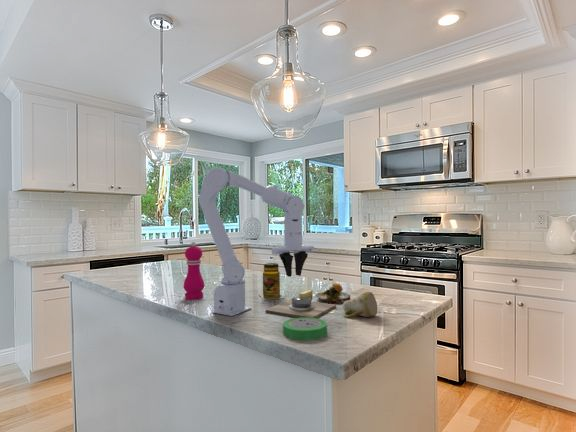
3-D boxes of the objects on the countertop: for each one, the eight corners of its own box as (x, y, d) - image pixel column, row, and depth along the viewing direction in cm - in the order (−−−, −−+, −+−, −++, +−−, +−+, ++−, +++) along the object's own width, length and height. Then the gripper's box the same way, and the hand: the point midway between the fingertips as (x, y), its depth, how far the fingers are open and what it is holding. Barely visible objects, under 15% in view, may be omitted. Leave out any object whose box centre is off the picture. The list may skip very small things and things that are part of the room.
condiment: (264, 300, 127) (263, 265, 127) (258, 295, 135) (258, 262, 135) (284, 298, 129) (284, 264, 129) (277, 293, 137) (277, 261, 137)
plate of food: (325, 295, 135) (324, 274, 135) (355, 298, 129) (355, 277, 129) (309, 302, 125) (309, 280, 125) (342, 306, 119) (342, 283, 119)
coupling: (305, 308, 110) (305, 296, 110) (288, 306, 113) (288, 294, 113) (318, 302, 117) (318, 291, 117) (302, 299, 121) (302, 289, 121)
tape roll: (274, 335, 91) (274, 325, 91) (297, 324, 101) (297, 314, 100) (313, 344, 85) (312, 333, 85) (334, 331, 94) (334, 321, 94)
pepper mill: (199, 300, 127) (198, 242, 126) (179, 300, 128) (179, 242, 128) (207, 296, 134) (207, 241, 134) (189, 295, 135) (188, 240, 135)
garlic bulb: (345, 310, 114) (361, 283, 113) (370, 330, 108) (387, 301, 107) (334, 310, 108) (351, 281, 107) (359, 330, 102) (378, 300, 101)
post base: (312, 320, 103) (312, 316, 103) (265, 312, 111) (265, 308, 111) (335, 307, 117) (335, 303, 117) (292, 301, 125) (292, 297, 125)
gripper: (278, 234, 111) (279, 279, 111) (319, 233, 118) (319, 275, 118) (268, 233, 117) (269, 276, 117) (307, 232, 124) (307, 272, 124)
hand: (293, 275), depth 118 cm, fingers open, 3 cm apart
